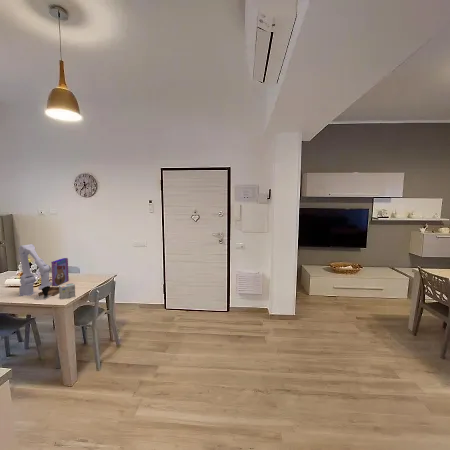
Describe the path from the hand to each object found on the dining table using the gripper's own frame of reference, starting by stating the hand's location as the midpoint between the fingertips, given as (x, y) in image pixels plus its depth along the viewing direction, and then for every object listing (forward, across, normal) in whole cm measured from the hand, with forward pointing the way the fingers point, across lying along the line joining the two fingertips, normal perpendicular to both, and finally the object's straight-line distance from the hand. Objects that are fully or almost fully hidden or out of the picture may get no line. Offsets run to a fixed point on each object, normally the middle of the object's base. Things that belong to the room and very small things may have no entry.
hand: (45, 295), depth 224 cm
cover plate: (+2, -4, 0) cm, 4 cm away
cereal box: (+2, +38, +9) cm, 39 cm away
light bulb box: (+2, 0, -18) cm, 19 cm away
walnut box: (+1, +9, 0) cm, 9 cm away
